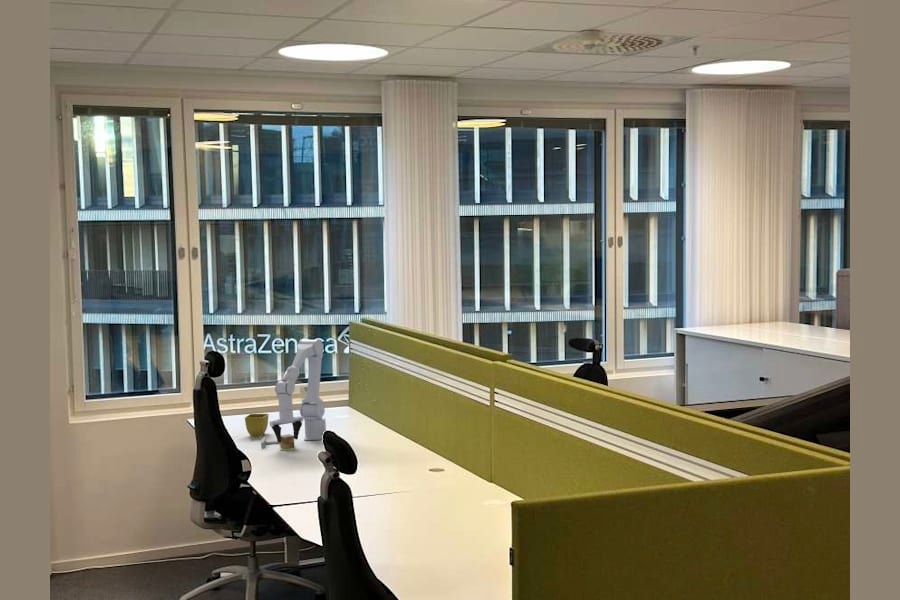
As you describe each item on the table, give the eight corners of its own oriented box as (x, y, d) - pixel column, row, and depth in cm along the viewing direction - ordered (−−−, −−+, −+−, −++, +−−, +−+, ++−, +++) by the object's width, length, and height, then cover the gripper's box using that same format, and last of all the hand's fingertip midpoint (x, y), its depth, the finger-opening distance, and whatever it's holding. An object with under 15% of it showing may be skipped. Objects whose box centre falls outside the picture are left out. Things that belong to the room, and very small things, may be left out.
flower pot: (269, 432, 424) (268, 413, 424) (264, 437, 416) (263, 417, 415) (251, 432, 425) (250, 413, 424) (245, 437, 417) (244, 417, 416)
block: (290, 445, 395) (289, 434, 395) (294, 447, 391) (293, 435, 391) (280, 447, 393) (279, 435, 392) (284, 449, 389) (284, 437, 388)
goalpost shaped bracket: (284, 441, 405) (284, 436, 405) (282, 446, 395) (282, 441, 395) (263, 442, 404) (263, 437, 404) (261, 448, 394) (261, 442, 394)
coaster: (295, 446, 395) (295, 445, 395) (294, 449, 389) (294, 448, 389) (281, 447, 394) (281, 446, 394) (280, 450, 388) (280, 449, 388)
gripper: (297, 405, 398) (299, 436, 399) (266, 410, 390) (267, 441, 391) (304, 407, 392) (306, 438, 393) (272, 412, 384) (274, 444, 385)
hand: (287, 440), depth 391 cm, fingers open, 7 cm apart
